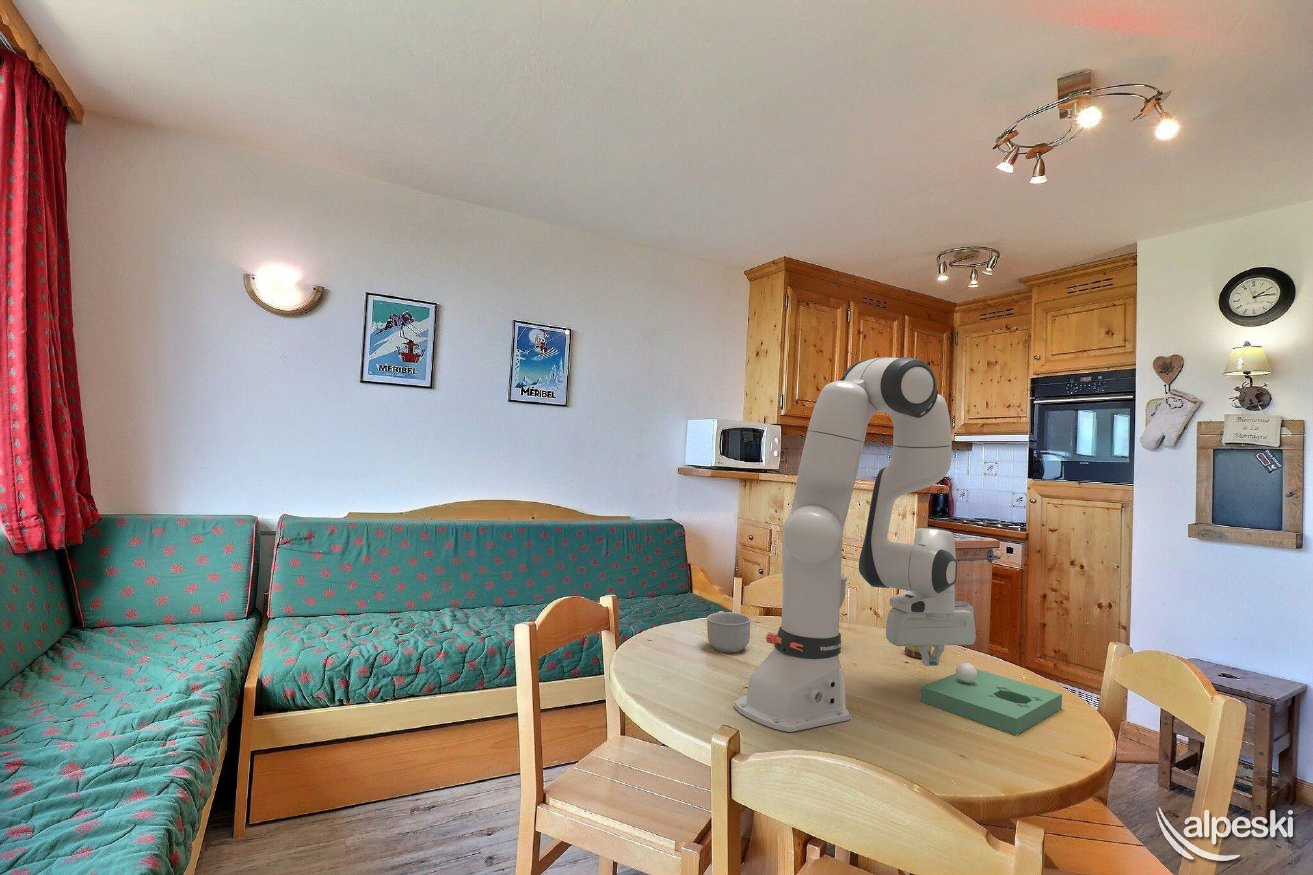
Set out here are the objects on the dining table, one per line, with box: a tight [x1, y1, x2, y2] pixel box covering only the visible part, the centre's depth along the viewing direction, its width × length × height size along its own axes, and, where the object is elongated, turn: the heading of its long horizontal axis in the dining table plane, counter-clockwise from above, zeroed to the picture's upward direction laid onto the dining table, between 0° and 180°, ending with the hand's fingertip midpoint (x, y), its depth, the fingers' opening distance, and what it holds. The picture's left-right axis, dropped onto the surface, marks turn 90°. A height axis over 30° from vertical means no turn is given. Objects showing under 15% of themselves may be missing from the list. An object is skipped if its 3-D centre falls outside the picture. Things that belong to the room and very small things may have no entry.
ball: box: [955, 662, 977, 683], centre depth 129 cm, size 4×4×4 cm
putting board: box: [919, 668, 1063, 736], centre depth 125 cm, size 22×18×3 cm
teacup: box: [706, 610, 752, 653], centre depth 155 cm, size 14×11×8 cm
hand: (930, 664), depth 135 cm, fingers closed
